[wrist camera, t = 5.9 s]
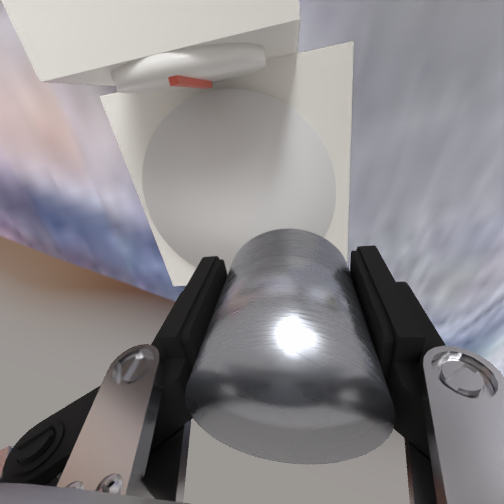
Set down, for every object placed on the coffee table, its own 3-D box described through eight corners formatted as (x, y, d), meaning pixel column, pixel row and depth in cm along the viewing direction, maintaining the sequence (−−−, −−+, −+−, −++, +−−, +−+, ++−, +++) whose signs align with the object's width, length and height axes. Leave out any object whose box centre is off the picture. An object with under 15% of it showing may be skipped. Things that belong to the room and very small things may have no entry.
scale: (105, 56, 18) (-63, 21, 9) (347, -5, 15) (418, -140, 6) (182, 271, 27) (131, 352, 19) (342, 263, 24) (368, 355, 15)
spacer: (219, 234, 9) (157, 347, 5) (352, 223, 8) (411, 349, 4) (241, 324, 12) (211, 455, 7) (348, 323, 11) (384, 472, 6)
